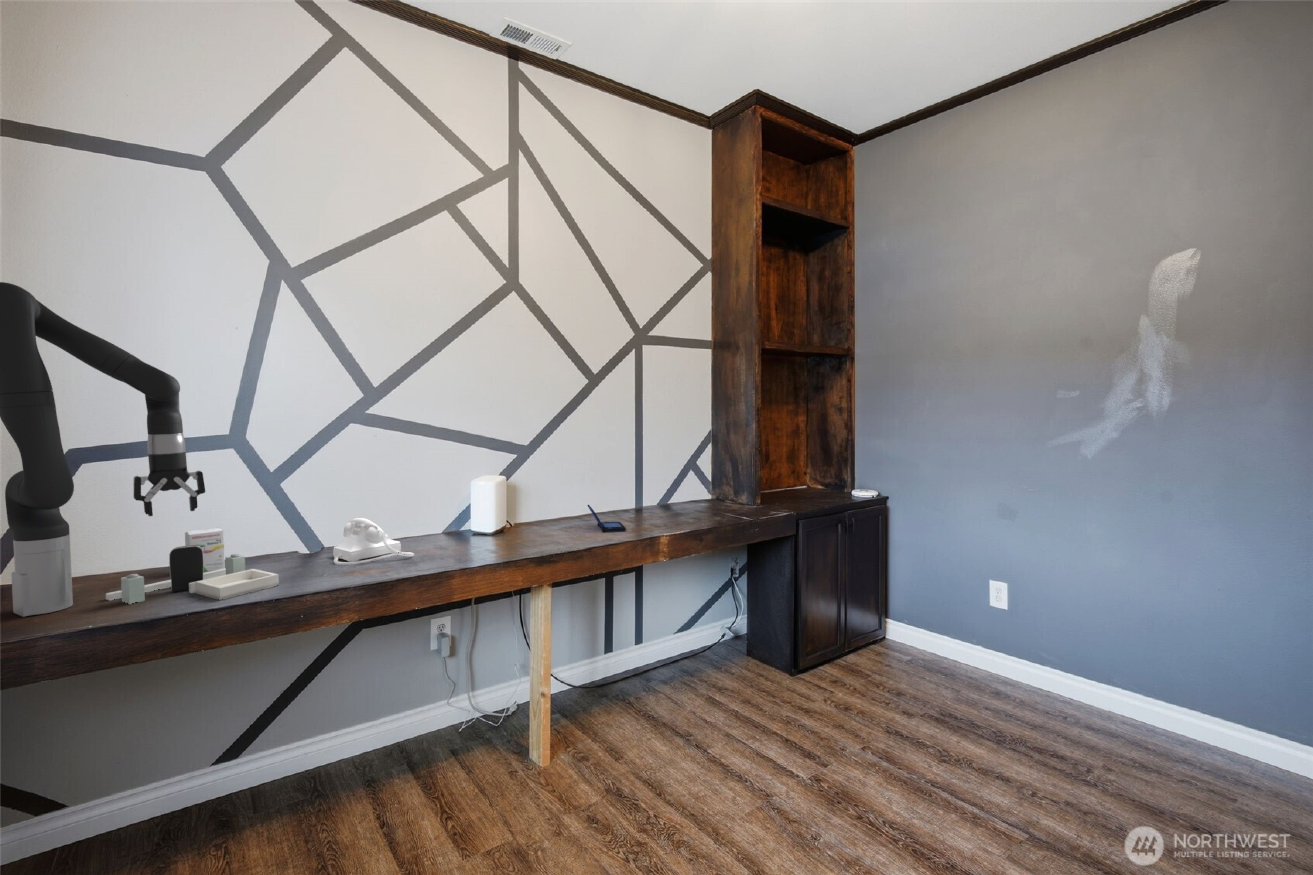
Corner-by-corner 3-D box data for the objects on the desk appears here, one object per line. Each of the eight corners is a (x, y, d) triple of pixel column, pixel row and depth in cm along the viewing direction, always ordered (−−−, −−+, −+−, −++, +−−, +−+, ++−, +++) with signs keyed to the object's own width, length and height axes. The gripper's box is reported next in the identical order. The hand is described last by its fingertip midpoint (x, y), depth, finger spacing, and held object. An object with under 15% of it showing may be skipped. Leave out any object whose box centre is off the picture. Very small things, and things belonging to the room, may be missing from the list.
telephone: (419, 557, 191) (418, 518, 190) (354, 571, 174) (353, 529, 173) (378, 546, 206) (377, 511, 205) (314, 559, 189) (313, 520, 188)
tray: (220, 600, 147) (220, 588, 147) (195, 593, 152) (195, 581, 152) (278, 585, 159) (278, 574, 159) (253, 579, 165) (253, 568, 165)
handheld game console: (626, 532, 230) (626, 508, 229) (592, 533, 227) (592, 509, 226) (619, 524, 245) (619, 502, 244) (587, 526, 242) (587, 503, 241)
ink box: (189, 574, 170) (187, 533, 169) (185, 571, 173) (184, 531, 173) (225, 568, 176) (224, 529, 176) (221, 565, 180) (220, 527, 179)
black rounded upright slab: (204, 585, 160) (203, 542, 159) (204, 588, 157) (202, 545, 156) (171, 589, 156) (169, 546, 155) (170, 593, 153) (168, 549, 152)
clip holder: (130, 607, 141) (129, 580, 141) (105, 599, 148) (104, 573, 147) (255, 578, 166) (254, 554, 166) (230, 572, 172) (229, 549, 172)
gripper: (132, 454, 145) (137, 520, 147) (204, 450, 156) (208, 510, 157) (128, 452, 150) (134, 515, 152) (198, 448, 161) (203, 507, 162)
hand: (172, 513), depth 154 cm, fingers open, 8 cm apart
